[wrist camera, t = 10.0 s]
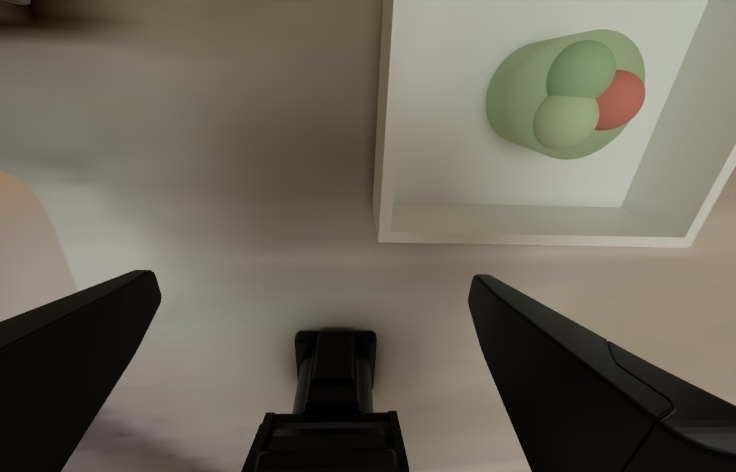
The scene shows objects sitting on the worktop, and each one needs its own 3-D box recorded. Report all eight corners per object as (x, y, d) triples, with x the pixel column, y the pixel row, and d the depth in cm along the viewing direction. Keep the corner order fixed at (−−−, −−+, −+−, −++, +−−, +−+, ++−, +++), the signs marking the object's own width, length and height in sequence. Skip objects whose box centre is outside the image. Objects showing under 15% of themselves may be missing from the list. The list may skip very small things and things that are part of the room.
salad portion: (561, 144, 19) (640, 169, 14) (477, 141, 19) (525, 165, 13) (592, 44, 17) (701, 27, 11) (497, 38, 16) (564, 19, 11)
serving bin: (619, 212, 22) (689, 247, 17) (372, 207, 21) (378, 242, 16) (731, -54, 16) (888, -109, 11) (387, -81, 15) (403, -155, 10)
